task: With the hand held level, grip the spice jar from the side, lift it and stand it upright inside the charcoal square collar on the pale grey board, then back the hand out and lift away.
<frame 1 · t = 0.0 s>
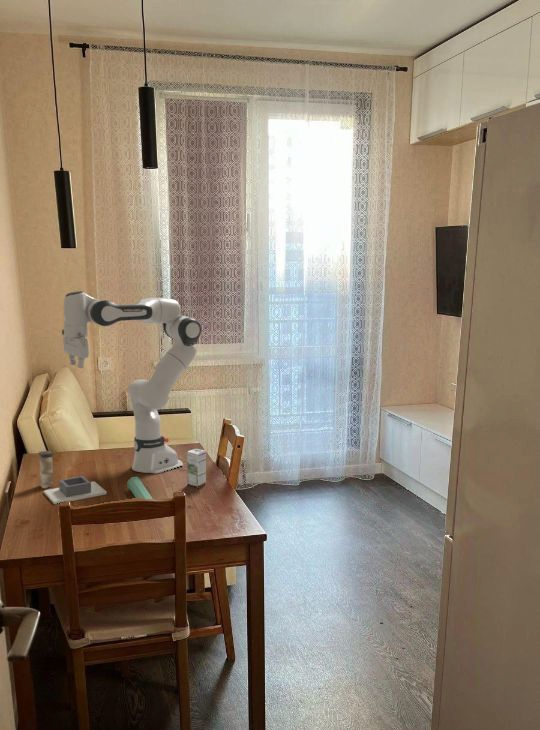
hand: (76, 366, 242), 48 cm above the table, tool pointing down, fingers open, 8 cm apart
spice jar: (46, 486, 242), on the table
syrup box: (196, 485, 248), on the table
container: (141, 501, 230), on the table
collar stand: (75, 493, 235), on the table
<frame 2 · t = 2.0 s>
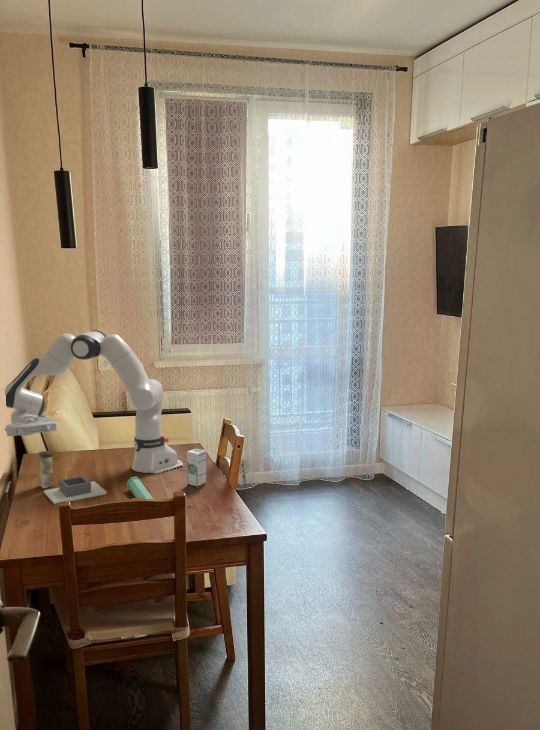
hand: (36, 432, 250), 19 cm above the table, tool horizontal, fingers open, 8 cm apart
nothing on the table moved.
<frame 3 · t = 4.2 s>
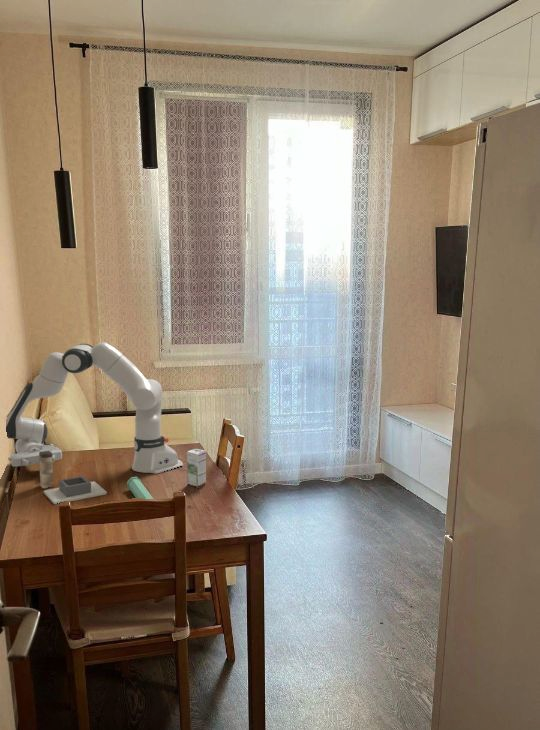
hand: (41, 462, 247), 8 cm above the table, tool horizontal, fingers open, 8 cm apart
nothing on the table moved.
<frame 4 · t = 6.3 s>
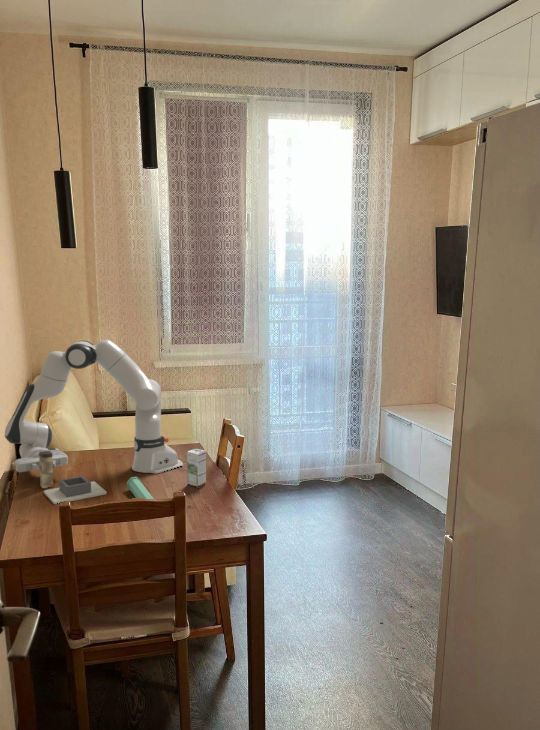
hand: (46, 467, 240), 8 cm above the table, tool horizontal, fingers closed on spice jar, 4 cm apart
spice jar: (46, 486, 242), on the table, touching gripper
everything else where it was.
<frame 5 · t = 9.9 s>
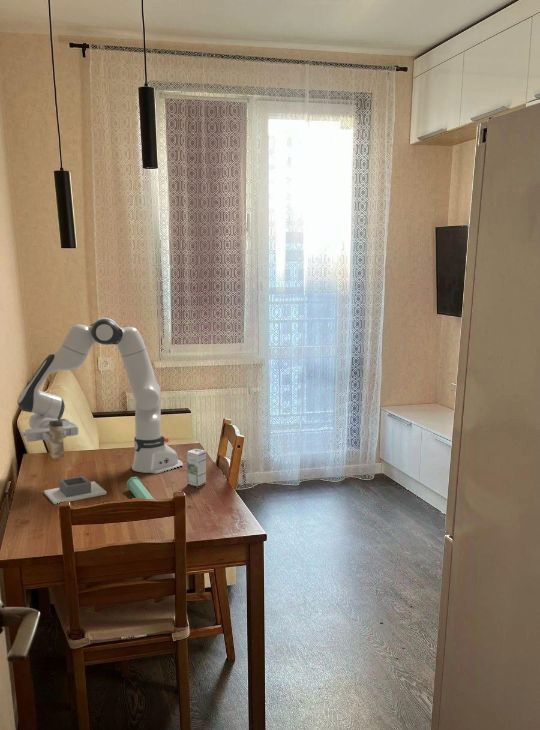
hand: (57, 437, 235), 22 cm above the table, tool horizontal, fingers closed on spice jar, 4 cm apart
spice jar: (57, 456, 237), point 14 cm above the table, touching gripper
everything else where it was.
when the fingers open (10 cm above the table, at t = 13.8 s): spice jar drops 1 cm, resting on collar stand.
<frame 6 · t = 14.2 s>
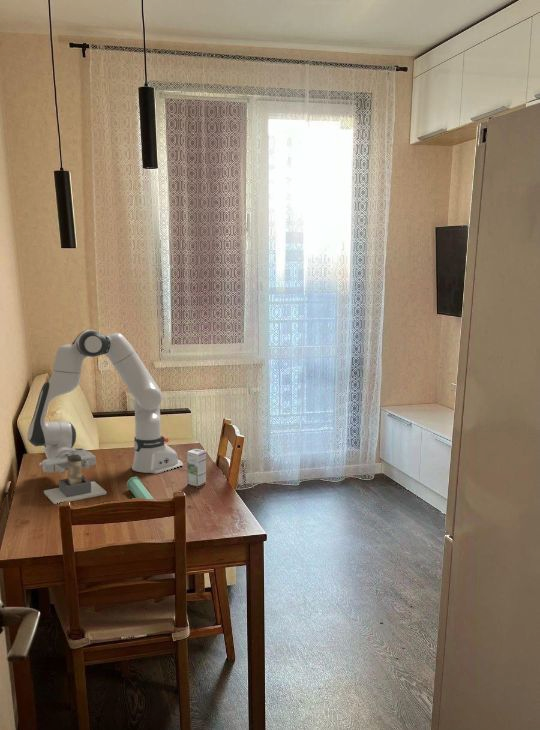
hand: (75, 468, 233), 10 cm above the table, tool horizontal, fingers open, 8 cm apart
spice jar: (75, 491, 235), point 1 cm above the table, touching collar stand
everything else where it was.
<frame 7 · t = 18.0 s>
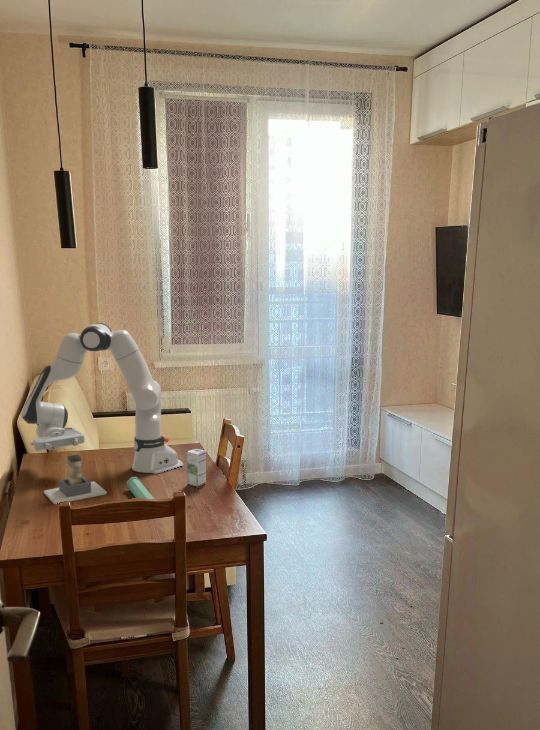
hand: (64, 445, 243), 16 cm above the table, tool horizontal, fingers open, 8 cm apart
nothing on the table moved.
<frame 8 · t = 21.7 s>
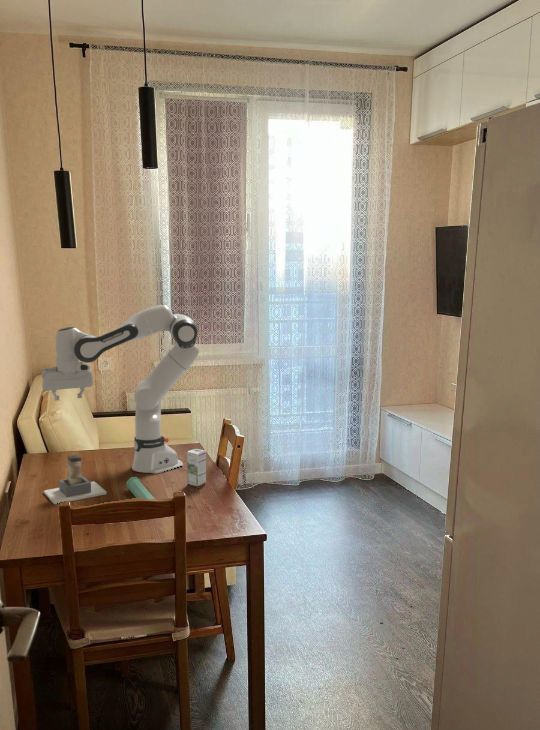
hand: (68, 399, 250), 33 cm above the table, tool pointing down, fingers open, 8 cm apart
nothing on the table moved.
at the end: spice jar 0.0 cm off-centre on the collar stand, point 1.0 cm above the collar stand's base; spice jar tilted 0°; the gripper is holding nothing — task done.
